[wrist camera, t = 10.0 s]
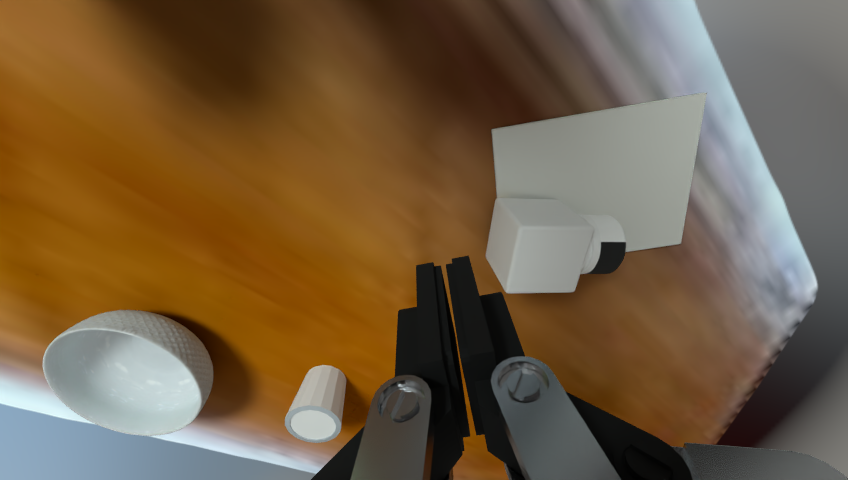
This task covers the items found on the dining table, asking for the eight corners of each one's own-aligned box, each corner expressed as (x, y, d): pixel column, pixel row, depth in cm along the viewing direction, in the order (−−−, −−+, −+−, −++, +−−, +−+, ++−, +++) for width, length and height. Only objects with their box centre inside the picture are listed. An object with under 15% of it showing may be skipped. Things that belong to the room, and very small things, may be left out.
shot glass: (291, 370, 49) (273, 415, 43) (336, 355, 48) (323, 399, 42) (317, 402, 52) (303, 449, 46) (359, 389, 51) (351, 435, 45)
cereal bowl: (252, 337, 46) (226, 380, 40) (198, 406, 52) (168, 454, 46) (119, 265, 42) (65, 302, 35) (75, 350, 47) (21, 395, 41)
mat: (491, 129, 35) (492, 129, 35) (702, 92, 34) (706, 92, 33) (502, 267, 42) (503, 270, 42) (678, 241, 41) (680, 243, 40)
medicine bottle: (484, 257, 40) (583, 257, 42) (505, 295, 34) (621, 293, 36) (494, 196, 37) (601, 199, 39) (520, 226, 31) (646, 227, 32)
